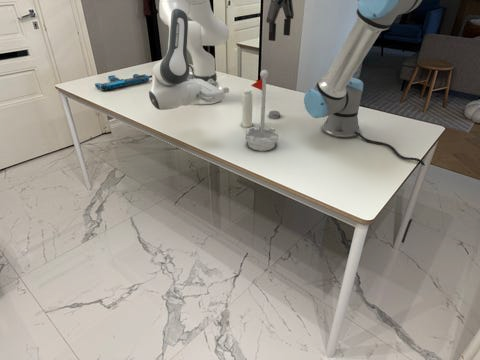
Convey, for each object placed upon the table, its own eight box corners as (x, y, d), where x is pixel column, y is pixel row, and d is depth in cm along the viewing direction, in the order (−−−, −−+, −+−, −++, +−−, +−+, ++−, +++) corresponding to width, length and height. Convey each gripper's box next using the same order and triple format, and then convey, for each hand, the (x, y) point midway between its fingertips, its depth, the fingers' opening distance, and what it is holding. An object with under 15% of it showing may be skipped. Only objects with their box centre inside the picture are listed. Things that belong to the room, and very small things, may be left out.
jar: (243, 122, 157) (243, 88, 148) (252, 123, 157) (253, 88, 148) (241, 126, 154) (241, 91, 145) (250, 127, 153) (251, 92, 144)
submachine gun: (139, 68, 225) (158, 74, 208) (140, 74, 226) (158, 80, 210) (87, 78, 206) (103, 86, 189) (89, 84, 208) (104, 92, 191)
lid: (271, 119, 161) (271, 115, 160) (267, 115, 165) (267, 111, 164) (281, 117, 162) (281, 113, 161) (277, 114, 166) (277, 110, 165)
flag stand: (269, 135, 146) (272, 63, 129) (283, 148, 135) (289, 72, 119) (241, 140, 142) (241, 67, 125) (253, 154, 132) (254, 76, 115)
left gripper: (203, 92, 123) (235, 85, 130) (180, 78, 138) (209, 73, 144) (204, 108, 127) (235, 101, 133) (181, 93, 141) (210, 87, 147)
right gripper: (288, -22, 143) (284, 32, 154) (258, -20, 125) (257, 41, 137) (304, -22, 139) (299, 34, 151) (276, -19, 122) (273, 43, 133)
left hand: (222, 86), depth 139 cm, fingers open, 8 cm apart
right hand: (279, 37), depth 144 cm, fingers open, 13 cm apart
